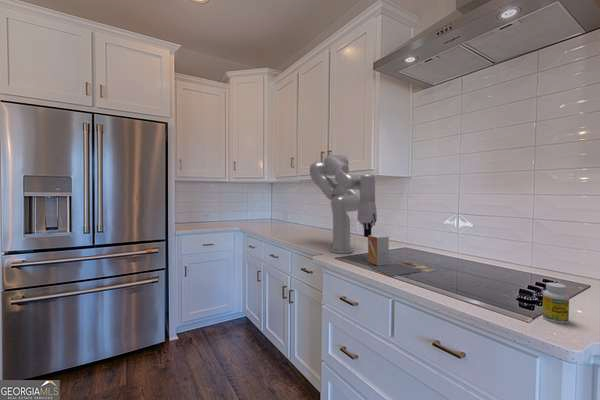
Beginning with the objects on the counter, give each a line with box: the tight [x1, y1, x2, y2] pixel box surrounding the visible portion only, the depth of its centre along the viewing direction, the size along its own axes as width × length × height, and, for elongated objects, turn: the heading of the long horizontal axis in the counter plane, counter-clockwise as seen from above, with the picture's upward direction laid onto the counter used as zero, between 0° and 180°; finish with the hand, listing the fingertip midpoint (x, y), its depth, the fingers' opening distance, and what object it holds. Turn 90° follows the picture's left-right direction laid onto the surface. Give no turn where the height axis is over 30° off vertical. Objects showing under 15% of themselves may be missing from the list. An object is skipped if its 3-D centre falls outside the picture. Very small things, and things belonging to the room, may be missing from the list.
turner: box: [400, 259, 436, 273], centre depth 132 cm, size 17×5×1 cm, turn 23°
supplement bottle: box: [542, 282, 570, 325], centre depth 79 cm, size 5×5×10 cm
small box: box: [367, 234, 390, 266], centre depth 137 cm, size 8×6×13 cm
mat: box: [369, 263, 422, 278], centre depth 127 cm, size 14×16×1 cm
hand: (367, 236), depth 144 cm, fingers closed
